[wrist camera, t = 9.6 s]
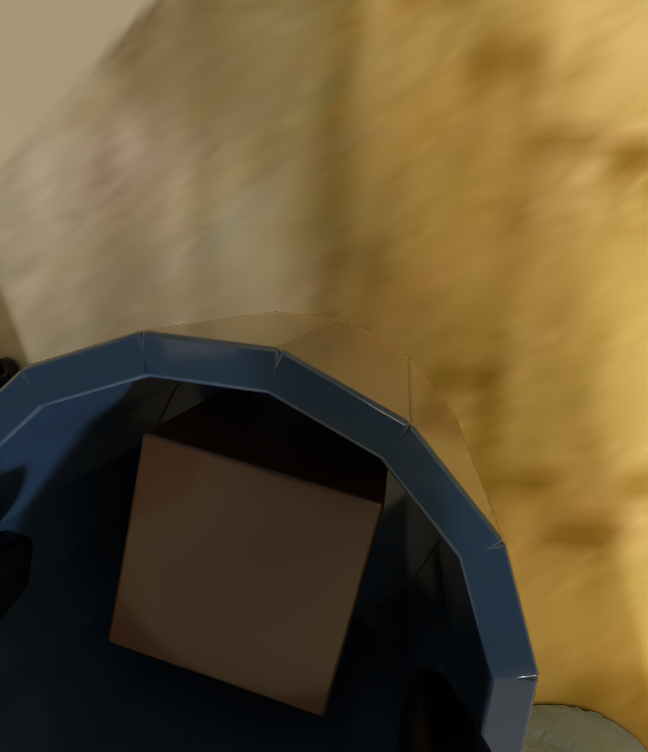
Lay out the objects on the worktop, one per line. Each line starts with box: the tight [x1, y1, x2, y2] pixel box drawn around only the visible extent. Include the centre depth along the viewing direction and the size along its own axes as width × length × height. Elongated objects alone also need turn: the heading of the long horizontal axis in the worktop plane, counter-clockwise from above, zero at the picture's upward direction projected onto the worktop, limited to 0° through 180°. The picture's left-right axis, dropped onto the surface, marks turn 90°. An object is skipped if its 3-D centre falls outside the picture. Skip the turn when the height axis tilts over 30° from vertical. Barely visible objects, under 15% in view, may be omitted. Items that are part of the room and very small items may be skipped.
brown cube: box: [109, 388, 388, 716], centre depth 11 cm, size 4×4×4 cm
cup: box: [0, 311, 539, 752], centre depth 10 cm, size 9×9×7 cm
